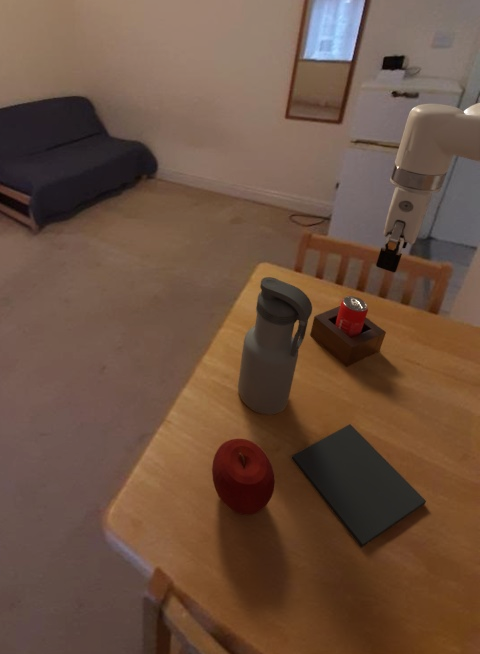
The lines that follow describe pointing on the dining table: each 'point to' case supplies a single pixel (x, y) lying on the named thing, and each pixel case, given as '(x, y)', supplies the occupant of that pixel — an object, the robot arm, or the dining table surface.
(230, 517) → the dining table surface
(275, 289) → the water bottle
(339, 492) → the mat
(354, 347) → the holder
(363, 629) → the dining table surface
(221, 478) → the apple
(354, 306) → the beverage can
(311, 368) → the dining table surface
